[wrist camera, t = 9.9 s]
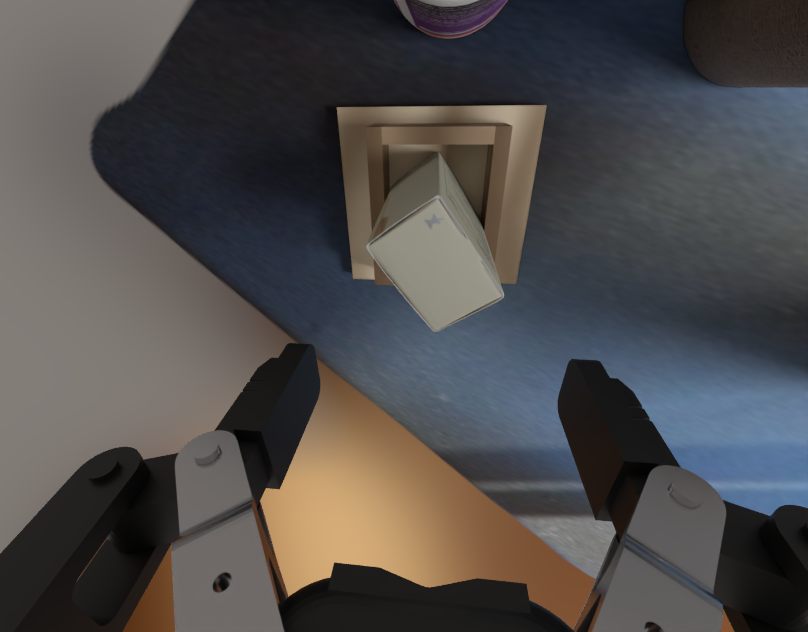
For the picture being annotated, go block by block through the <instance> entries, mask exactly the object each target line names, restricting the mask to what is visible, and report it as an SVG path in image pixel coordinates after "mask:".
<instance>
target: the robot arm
mask: <svg viewBox="0 0 808 632" xmlns="http://www.w3.org/2000/svg"><path fill="white" fill-rule="evenodd" d="M319 393H320V377H319V371H318V365H317V360H316V354H315V349H314V346H313V345H312V344H296V343H289V344H287V345H286V347H285V349H284V350H283V352H282V353H281V355H280V356H279V358H270V359H269V360H268V361H266V362H265V363H264V364H263V365H261V366H260V367H258V369H257V370H256V372H255V373H254V374H253V376H252V377H251V379H250V382H248V383H247V384H246V386H245V387H244V389H243V392H241V393H240V395H239V396H238V397H237V399H236V400H235V402H234V403H233V405H232V406H231V408H230V409H229V410H228V412H227V413H226V415H225V416H224V418H223V419H222V421H221V422H220V424H219V425H218V427H217V428H216V429H215V430H214V431H211V432H207V433H204V434H202V435H199V436H198V437H196V438H194V439H193V440H191V441H190V442H188V443H187V444H186V445H185V446H184V447H183V448H182V450H181V451H180V452H179V453H176V454H172V455H166V456H161V457H156V458H150V459H145V460H143V458H142V457H141V455H140V453H139V452H138V451H137V450H136V449H134V448H131V447H119V448H114V449H111V450H108V451H105V452H103V453H101V454H99V455H97V456H95V457H94V458H92V459H90V460H89V461H87V462H86V463H85V464H83V465H82V466H81V467H80V468H79V469H78V470H77V471H76V472H75V473H74V474H73V475H72V476H71V477H70V479H69V480H68V481H67V482H66V483H65V484H64V485H63V486H62V487H61V488H60V490H59V491H58V492H57V493H56V494H55V495H54V496H53V497H52V498H51V499H50V500H49V501H48V503H47V504H46V505H45V506H44V507H43V508H42V509H41V510H40V511H39V512H38V514H37V515H36V516H35V517H34V518H33V519H32V520H31V521H30V522H29V523H28V524H27V525H26V526H25V528H24V529H23V530H22V531H21V532H20V533H19V534H18V535H17V536H16V537H15V539H14V540H13V541H12V542H11V543H10V544H9V545H8V546H7V547H6V548H5V549H4V550H3V552H2V553H1V554H0V632H122V631H123V630H124V628H125V626H126V624H127V622H128V621H129V619H130V617H131V615H132V614H133V612H134V610H135V608H136V606H137V604H138V603H139V601H140V599H141V597H142V596H143V594H144V592H145V590H146V588H147V587H148V585H149V583H150V581H151V579H152V577H153V576H154V574H155V572H156V570H157V569H158V567H159V565H160V563H161V561H162V560H163V558H164V556H165V554H166V552H167V551H168V549H169V547H170V545H171V543H172V542H173V543H172V550H171V556H172V576H173V595H174V614H175V632H721V626H722V619H723V609H724V611H725V613H726V615H727V617H728V619H729V621H730V623H731V625H732V627H733V629H734V631H735V632H808V508H805V507H801V506H796V505H784V506H781V507H779V508H778V509H777V510H776V511H775V512H774V513H773V514H772V515H771V516H768V515H765V514H762V513H759V512H756V511H753V510H750V509H747V508H744V507H741V506H738V505H735V504H732V503H729V502H727V501H724V500H722V498H721V497H720V495H719V494H718V493H717V492H716V490H715V489H714V488H713V487H712V486H711V485H710V484H708V483H707V482H706V481H705V480H703V479H702V478H700V477H699V476H697V475H696V474H694V473H692V472H690V471H688V470H685V469H683V468H681V467H680V466H679V464H678V462H677V461H676V459H675V458H674V456H673V454H672V453H671V451H670V450H669V448H668V447H667V445H666V443H665V442H664V440H663V439H662V437H661V435H660V434H659V432H658V431H657V429H656V427H655V426H654V424H653V423H652V421H650V420H649V416H648V415H647V413H646V412H645V410H644V409H642V405H641V404H640V402H639V400H638V399H637V397H636V396H635V394H634V393H633V391H632V390H630V389H629V388H628V387H627V386H626V385H625V384H623V383H622V382H621V381H620V380H619V379H614V378H609V376H608V374H607V372H606V371H605V369H604V367H603V365H602V364H601V363H600V362H599V361H596V360H578V359H571V360H570V361H569V363H568V366H567V369H566V373H565V376H564V379H563V383H562V386H561V389H560V393H559V397H558V413H559V417H560V420H561V423H562V426H563V429H564V432H565V434H566V437H567V440H568V443H569V446H570V449H571V451H572V454H573V457H574V460H575V463H576V466H577V469H578V471H579V474H580V477H581V480H582V483H583V486H584V489H585V491H586V494H587V497H588V500H589V503H590V506H591V508H592V511H593V514H594V517H595V520H602V521H612V522H613V525H614V527H615V530H616V534H615V536H614V537H613V540H612V542H611V544H610V547H609V549H608V552H607V554H606V556H605V559H604V561H603V564H602V566H601V569H600V571H599V573H598V576H597V578H596V581H595V583H594V586H593V588H592V590H591V593H590V595H589V597H588V600H587V602H586V604H585V606H584V608H583V610H582V612H581V614H580V616H579V618H578V620H577V623H576V625H575V627H574V629H571V628H570V627H569V626H568V625H567V624H566V623H565V622H563V621H562V620H561V619H560V618H558V617H557V616H556V615H554V614H553V613H551V612H550V611H549V610H547V609H545V608H543V607H542V606H540V605H538V604H536V603H534V602H532V601H529V597H528V591H527V584H523V583H513V582H505V581H496V580H486V579H472V580H467V581H462V582H457V583H452V584H447V585H442V586H436V587H431V588H429V587H424V586H421V585H419V584H416V583H414V582H412V581H409V580H407V579H405V578H402V577H400V576H398V575H396V574H393V573H391V572H388V571H386V570H384V569H382V568H377V567H369V566H360V565H351V564H342V563H334V566H333V570H332V574H331V578H326V579H322V580H320V581H317V582H314V583H311V584H309V585H307V586H305V587H303V588H301V589H300V590H298V591H297V592H295V593H293V594H292V595H290V596H289V597H288V594H287V591H286V587H285V584H284V581H283V578H282V575H281V572H280V569H279V565H278V562H277V559H276V555H275V551H274V548H273V544H272V541H271V537H270V534H269V530H268V526H267V523H266V519H265V516H264V512H263V509H262V505H261V502H260V499H261V497H262V495H263V493H264V491H265V489H266V488H272V489H280V487H281V485H282V483H283V480H284V478H285V475H286V473H287V471H288V468H289V466H290V464H291V461H292V459H293V457H294V454H295V452H296V449H297V447H298V445H299V442H300V440H301V438H302V435H303V433H304V431H305V428H306V426H307V424H308V421H309V419H310V417H311V414H312V412H313V409H314V407H315V405H316V402H317V400H318V397H319ZM106 538H108V539H107V540H106V542H105V543H104V545H103V546H102V547H101V549H100V550H99V551H98V553H97V554H96V556H95V557H94V558H93V560H92V561H91V563H90V564H89V566H88V567H87V569H86V570H85V571H84V573H83V574H82V576H81V577H80V578H79V580H78V581H77V579H78V577H79V576H80V574H81V573H82V572H83V570H84V569H85V567H86V566H87V564H88V563H89V562H90V560H91V559H92V557H93V556H94V555H95V553H96V552H97V550H98V549H99V547H100V546H101V545H102V543H103V542H104V540H105V539H106ZM76 581H77V583H76Z"/></svg>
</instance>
